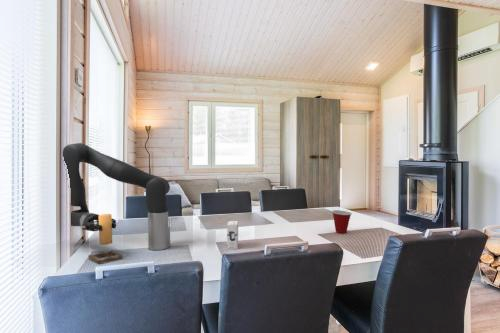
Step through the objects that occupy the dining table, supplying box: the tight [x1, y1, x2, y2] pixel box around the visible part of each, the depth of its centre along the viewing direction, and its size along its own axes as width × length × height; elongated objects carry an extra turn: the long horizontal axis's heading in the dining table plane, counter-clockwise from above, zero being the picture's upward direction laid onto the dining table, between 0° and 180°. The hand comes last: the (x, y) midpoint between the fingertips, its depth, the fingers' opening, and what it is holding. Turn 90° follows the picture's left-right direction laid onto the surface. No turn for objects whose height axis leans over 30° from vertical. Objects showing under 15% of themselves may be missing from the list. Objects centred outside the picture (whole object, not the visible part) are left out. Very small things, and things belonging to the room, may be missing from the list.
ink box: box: [226, 220, 239, 250], centre depth 154 cm, size 8×5×12 cm, turn 0°
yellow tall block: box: [98, 213, 113, 246], centre depth 136 cm, size 5×5×12 cm
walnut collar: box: [87, 250, 123, 265], centre depth 136 cm, size 10×10×2 cm
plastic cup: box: [331, 209, 353, 235], centre depth 181 cm, size 11×11×12 cm
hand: (108, 227), depth 134 cm, fingers closed on yellow tall block, 5 cm apart
